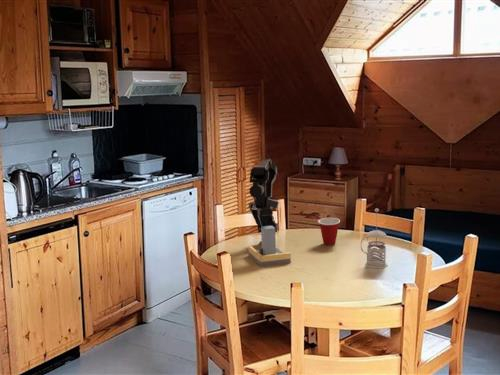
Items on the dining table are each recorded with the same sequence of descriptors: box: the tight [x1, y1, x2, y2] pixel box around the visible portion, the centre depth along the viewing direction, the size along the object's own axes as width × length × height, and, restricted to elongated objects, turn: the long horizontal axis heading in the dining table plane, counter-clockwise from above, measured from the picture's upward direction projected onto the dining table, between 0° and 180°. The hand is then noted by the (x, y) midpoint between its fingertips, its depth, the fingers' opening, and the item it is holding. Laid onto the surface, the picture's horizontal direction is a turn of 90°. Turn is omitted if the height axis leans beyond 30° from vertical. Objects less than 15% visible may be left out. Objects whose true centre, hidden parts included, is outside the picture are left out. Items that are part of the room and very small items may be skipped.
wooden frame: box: [248, 245, 292, 267], centre depth 267 cm, size 18×14×4 cm
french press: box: [360, 208, 389, 269], centre depth 253 cm, size 10×12×25 cm
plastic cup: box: [317, 217, 341, 246], centre depth 289 cm, size 11×11×12 cm
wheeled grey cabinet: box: [258, 226, 277, 255], centre depth 264 cm, size 8×7×13 cm
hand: (260, 226), depth 275 cm, fingers open, 9 cm apart
